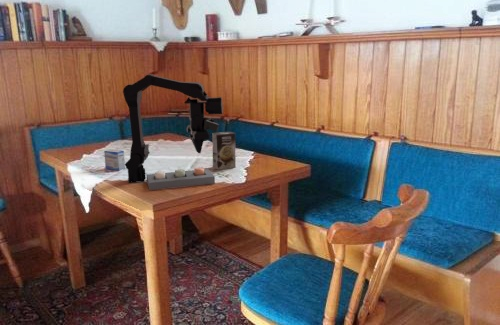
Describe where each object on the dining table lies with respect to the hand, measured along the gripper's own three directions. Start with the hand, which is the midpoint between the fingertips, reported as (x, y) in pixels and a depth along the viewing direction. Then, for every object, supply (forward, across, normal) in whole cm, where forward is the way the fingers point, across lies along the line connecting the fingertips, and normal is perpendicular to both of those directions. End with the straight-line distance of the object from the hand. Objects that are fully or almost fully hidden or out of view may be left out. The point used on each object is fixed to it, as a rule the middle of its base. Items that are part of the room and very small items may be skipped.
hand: (198, 152), depth 175 cm
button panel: (+12, 0, +8) cm, 14 cm away
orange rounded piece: (+10, 0, 0) cm, 10 cm away
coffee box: (+12, +17, -15) cm, 26 cm away
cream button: (+10, 0, +16) cm, 19 cm away
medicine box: (+12, +31, +33) cm, 47 cm away
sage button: (+10, 0, +8) cm, 13 cm away
